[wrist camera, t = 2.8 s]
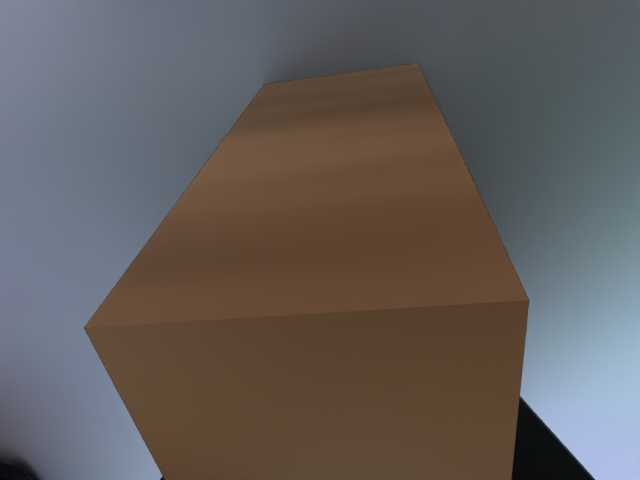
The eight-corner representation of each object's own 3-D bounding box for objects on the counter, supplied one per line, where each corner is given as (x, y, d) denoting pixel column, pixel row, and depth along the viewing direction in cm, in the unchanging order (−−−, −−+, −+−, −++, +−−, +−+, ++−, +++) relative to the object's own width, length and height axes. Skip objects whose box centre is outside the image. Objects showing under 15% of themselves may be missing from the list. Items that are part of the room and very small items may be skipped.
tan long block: (433, 451, 13) (480, 792, 8) (340, 453, 13) (324, 779, 8) (417, 62, 8) (528, 300, 2) (265, 82, 8) (84, 328, 3)
